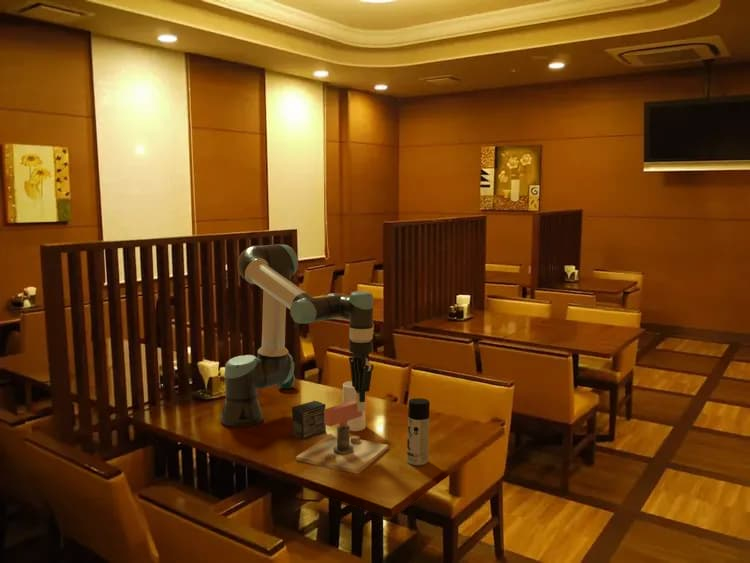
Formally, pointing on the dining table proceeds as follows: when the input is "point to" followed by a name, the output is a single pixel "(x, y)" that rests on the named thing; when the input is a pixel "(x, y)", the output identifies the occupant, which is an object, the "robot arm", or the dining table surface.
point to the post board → (343, 452)
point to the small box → (308, 420)
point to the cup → (350, 395)
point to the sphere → (288, 383)
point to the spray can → (418, 431)
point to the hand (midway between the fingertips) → (360, 410)
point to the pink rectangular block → (341, 414)
